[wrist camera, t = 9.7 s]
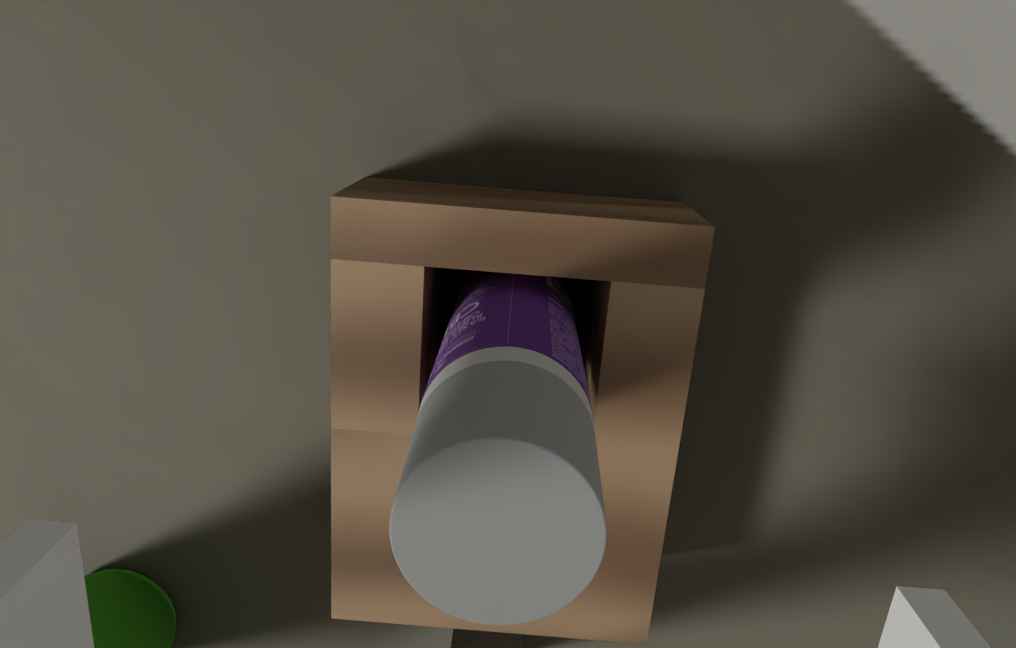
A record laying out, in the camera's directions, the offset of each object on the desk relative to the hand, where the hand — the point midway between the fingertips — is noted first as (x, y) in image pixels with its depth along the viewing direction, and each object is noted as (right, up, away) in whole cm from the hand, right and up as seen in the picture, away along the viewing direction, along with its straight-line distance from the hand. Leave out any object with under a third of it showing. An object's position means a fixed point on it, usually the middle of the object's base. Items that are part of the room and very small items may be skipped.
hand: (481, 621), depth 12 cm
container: (+1, +5, +17) cm, 18 cm away
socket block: (0, +2, +18) cm, 18 cm away
